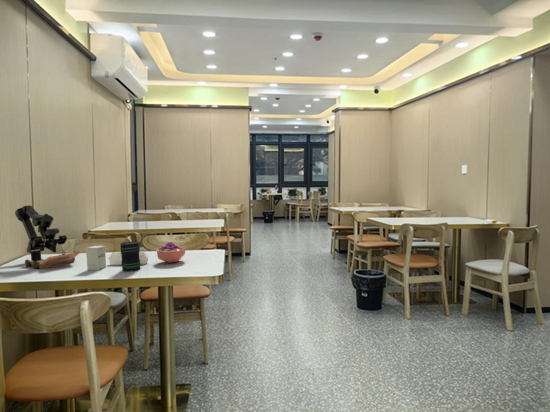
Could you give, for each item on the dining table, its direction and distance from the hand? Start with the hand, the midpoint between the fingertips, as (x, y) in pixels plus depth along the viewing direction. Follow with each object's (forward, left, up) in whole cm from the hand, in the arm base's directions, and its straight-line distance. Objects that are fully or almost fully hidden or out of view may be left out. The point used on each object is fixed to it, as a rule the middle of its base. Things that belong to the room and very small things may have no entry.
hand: (55, 252), depth 250 cm
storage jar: (+32, +47, -8) cm, 58 cm away
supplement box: (+21, +27, -8) cm, 35 cm away
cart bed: (-6, -5, -8) cm, 11 cm away
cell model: (+19, +68, -8) cm, 71 cm away
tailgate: (+1, +1, -6) cm, 6 cm away
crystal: (+14, +44, -9) cm, 46 cm away
